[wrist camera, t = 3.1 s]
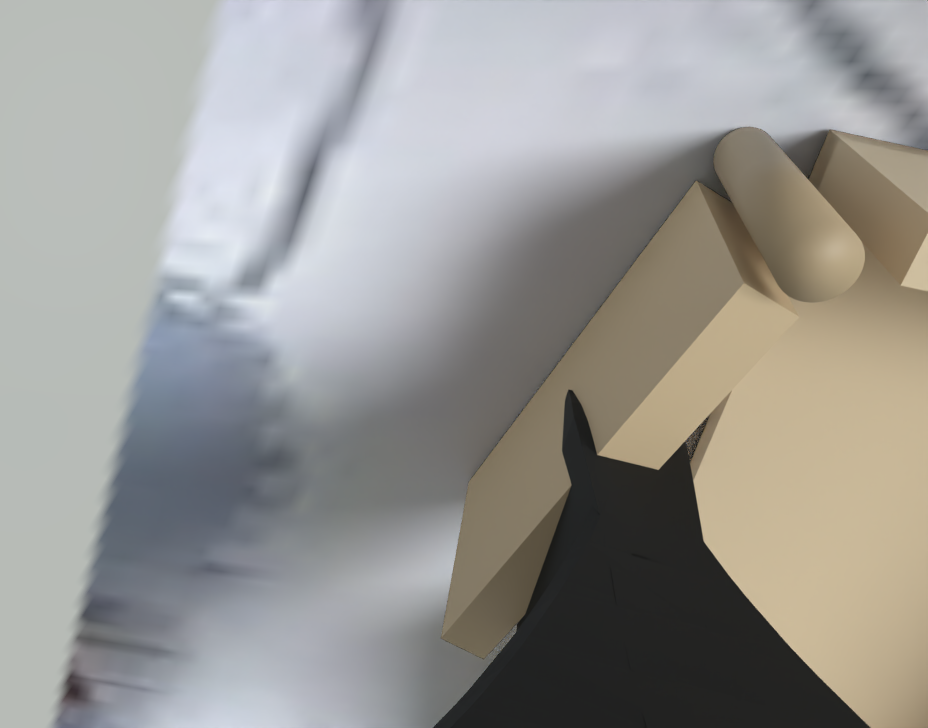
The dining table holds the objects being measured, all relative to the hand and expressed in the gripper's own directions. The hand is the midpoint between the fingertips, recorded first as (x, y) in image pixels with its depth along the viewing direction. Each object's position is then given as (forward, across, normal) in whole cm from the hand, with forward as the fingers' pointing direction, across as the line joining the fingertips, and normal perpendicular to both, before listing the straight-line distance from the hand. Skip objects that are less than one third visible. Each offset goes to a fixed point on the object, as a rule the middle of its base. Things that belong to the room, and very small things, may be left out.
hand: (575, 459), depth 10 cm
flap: (+1, 0, -1) cm, 2 cm away
